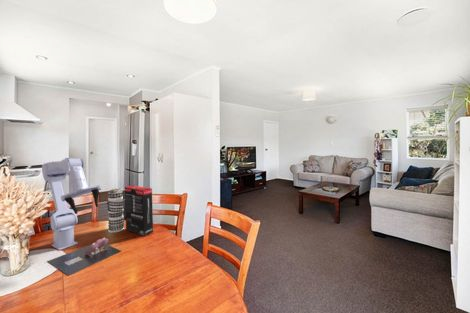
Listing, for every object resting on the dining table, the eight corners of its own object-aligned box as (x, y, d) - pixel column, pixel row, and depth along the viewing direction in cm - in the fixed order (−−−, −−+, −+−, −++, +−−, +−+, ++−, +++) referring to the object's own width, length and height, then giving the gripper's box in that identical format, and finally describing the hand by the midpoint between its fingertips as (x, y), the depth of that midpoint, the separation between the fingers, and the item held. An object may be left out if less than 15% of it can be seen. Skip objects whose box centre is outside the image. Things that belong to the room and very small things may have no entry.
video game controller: (90, 259, 97) (95, 247, 96) (82, 254, 98) (87, 242, 97) (107, 249, 107) (112, 237, 106) (100, 244, 107) (105, 233, 106)
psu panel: (47, 261, 93) (47, 261, 93) (99, 241, 112) (99, 241, 112) (68, 275, 83) (68, 275, 83) (121, 251, 102) (121, 250, 102)
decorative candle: (114, 226, 133) (113, 187, 131) (128, 227, 132) (127, 188, 130) (104, 232, 124) (102, 190, 122) (118, 233, 123) (117, 191, 121)
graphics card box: (154, 232, 124) (153, 187, 123) (144, 236, 118) (143, 189, 116) (134, 227, 132) (133, 184, 130) (124, 231, 126) (123, 186, 124)
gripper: (55, 184, 87) (63, 214, 84) (95, 173, 95) (104, 200, 92) (60, 189, 93) (68, 218, 90) (98, 179, 101) (106, 205, 97)
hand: (86, 209), depth 91 cm, fingers open, 7 cm apart
